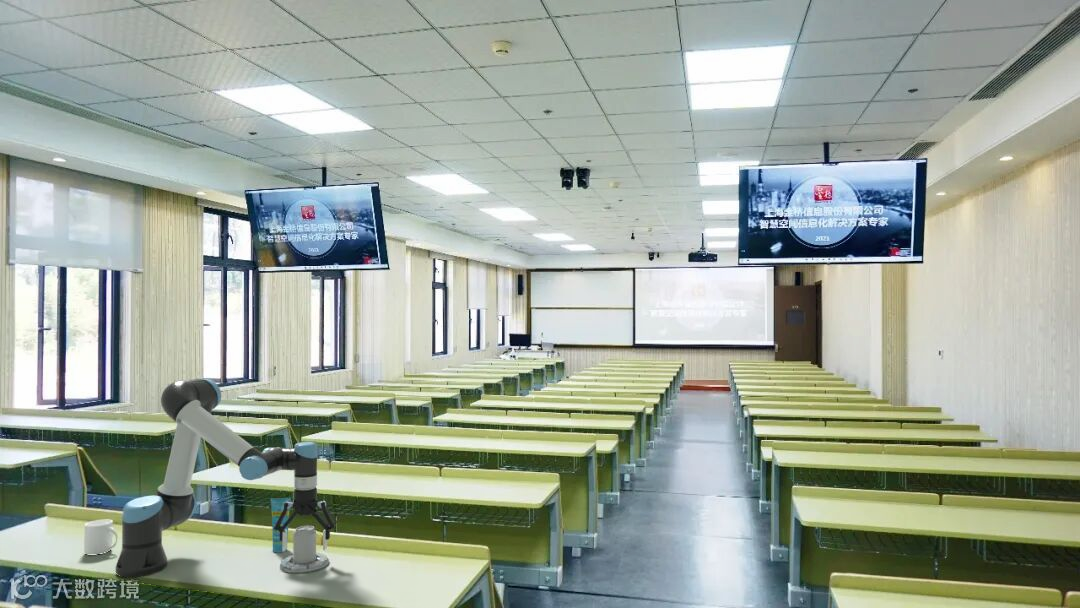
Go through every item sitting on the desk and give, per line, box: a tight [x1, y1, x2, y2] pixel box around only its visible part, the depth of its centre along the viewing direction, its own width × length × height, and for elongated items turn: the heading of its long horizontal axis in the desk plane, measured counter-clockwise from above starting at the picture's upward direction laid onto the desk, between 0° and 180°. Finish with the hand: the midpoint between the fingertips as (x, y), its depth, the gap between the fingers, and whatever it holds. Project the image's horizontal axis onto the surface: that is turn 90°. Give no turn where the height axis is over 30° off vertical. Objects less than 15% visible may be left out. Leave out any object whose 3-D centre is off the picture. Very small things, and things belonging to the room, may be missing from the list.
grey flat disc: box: [279, 551, 330, 575], centre depth 232 cm, size 16×16×2 cm
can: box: [292, 525, 317, 564], centre depth 233 cm, size 8×8×12 cm
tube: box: [270, 497, 292, 553], centre depth 248 cm, size 7×5×19 cm, turn 98°
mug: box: [83, 518, 118, 554], centre depth 245 cm, size 9×12×11 cm
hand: (304, 549), depth 233 cm, fingers open, 13 cm apart
